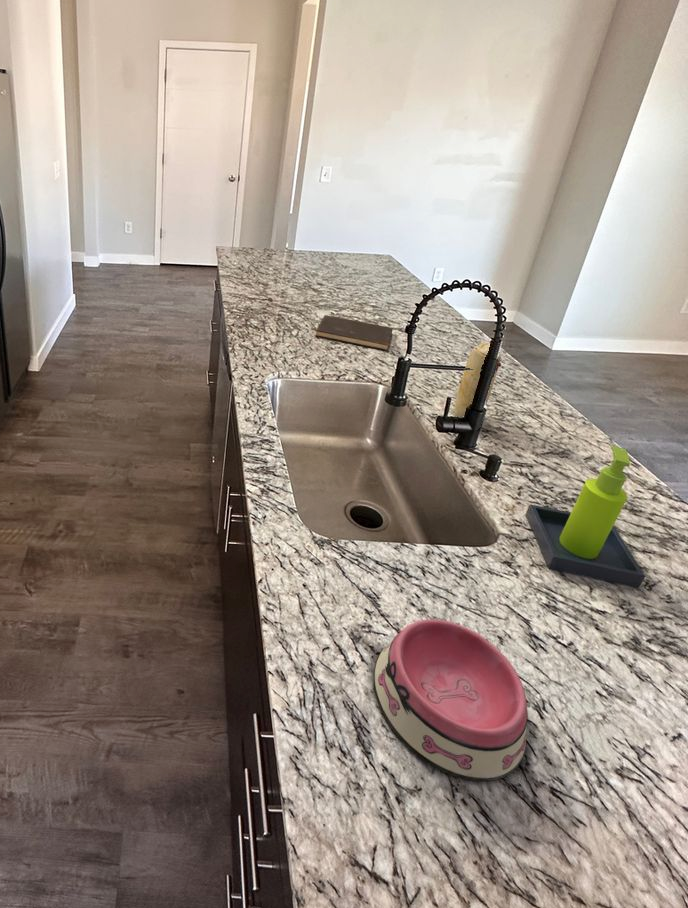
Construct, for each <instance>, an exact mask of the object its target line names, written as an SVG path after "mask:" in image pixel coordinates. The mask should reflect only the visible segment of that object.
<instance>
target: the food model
mask: <svg viewBox="0 0 688 908" xmlns="http://www.w3.org/2000/svg"><path fill="white" fill-rule="evenodd" d="M490 344H491V343H488V342H482V343H480V344H479V345H478V346H477V348H476V347H473V349H471V351H470V352H469V355H468V358H467V361H466V365H465V368H470V369H473V370H465V368H464V371H463V374H462V377H461V380H460V383H459V387H458V391H457V394H456V398H455V402H454V406H453V414H454V417H455V418H457V417H463V416H464V414H465V411H466V408H467V407H468V406H469V405H470V404H471V403H472V401H473V398H474V395H475V392H476V388H477V385H478V381H479V378H480V372H481V367H482V365H483V364H484V360H485V357H486V355H487V353H488V351H489V347H490ZM501 359H502V353H501V351H500V352H499V357H498V363H497V368H496V372H495V374H494V377H493V380H492V383H491V386H490V389H489V392H488V395H487V399H486V405H488V401H489V399H490V396H491V393H492V390H493V387H494V384H495V380H496V377H497V374H498V370H499V368H500V363H501Z"/></svg>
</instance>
